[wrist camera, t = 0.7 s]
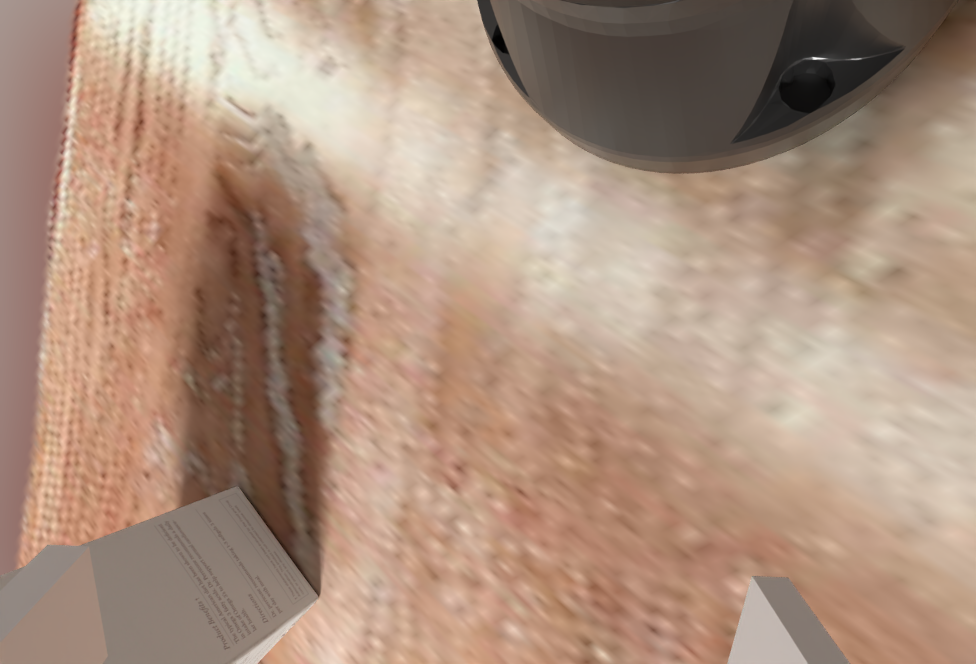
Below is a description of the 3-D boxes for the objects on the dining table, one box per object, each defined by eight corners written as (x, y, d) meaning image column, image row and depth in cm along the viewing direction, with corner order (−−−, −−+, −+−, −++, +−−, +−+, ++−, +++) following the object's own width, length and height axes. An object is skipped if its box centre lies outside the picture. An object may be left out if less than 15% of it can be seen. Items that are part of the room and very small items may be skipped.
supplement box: (174, 563, 32) (-150, 714, 20) (241, 481, 29) (-83, 599, 18) (248, 678, 30) (-62, 916, 18) (326, 600, 28) (26, 818, 16)
